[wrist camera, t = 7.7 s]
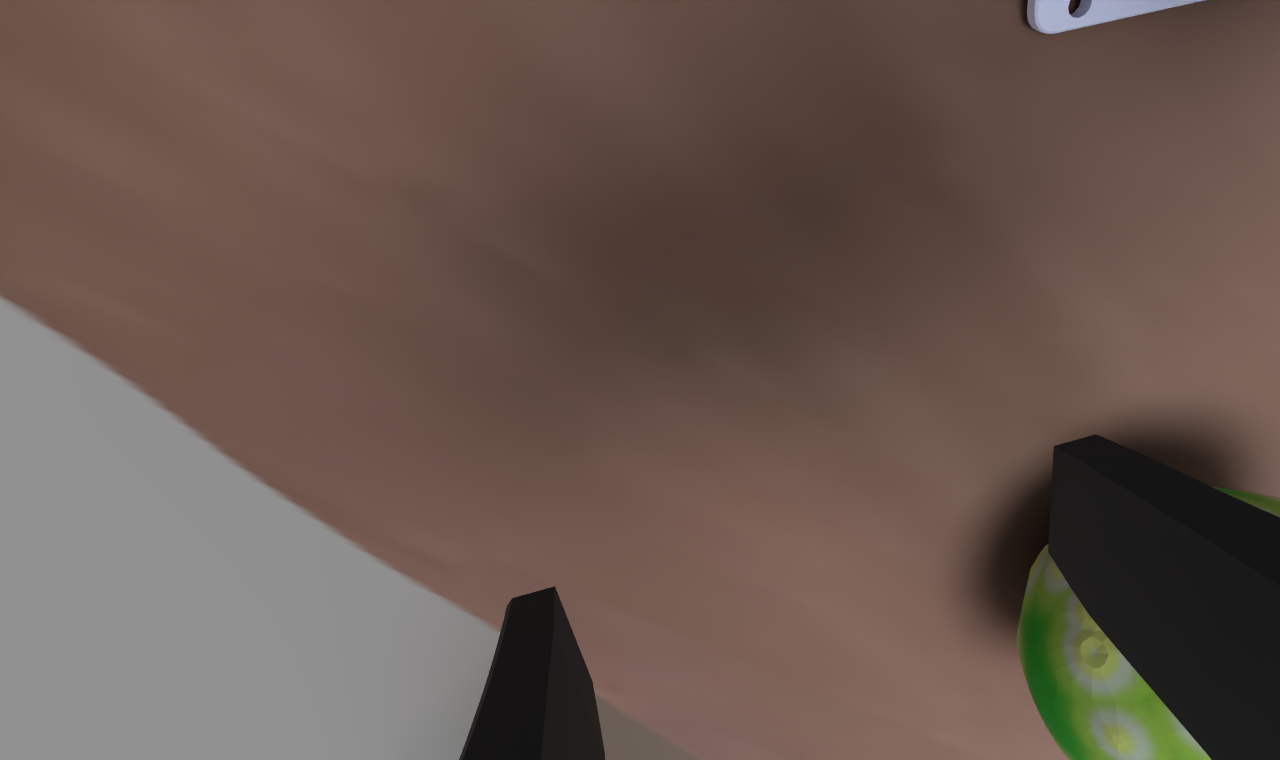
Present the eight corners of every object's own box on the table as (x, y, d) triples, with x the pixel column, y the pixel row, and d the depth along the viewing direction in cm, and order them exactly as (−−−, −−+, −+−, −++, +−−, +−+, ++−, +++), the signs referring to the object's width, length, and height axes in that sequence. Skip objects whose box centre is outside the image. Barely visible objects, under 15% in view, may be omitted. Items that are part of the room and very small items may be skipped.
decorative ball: (1292, 504, 28) (1632, 772, 20) (1060, 674, 31) (1266, 967, 23) (1148, 360, 24) (1501, 620, 15) (899, 573, 27) (1076, 885, 19)
